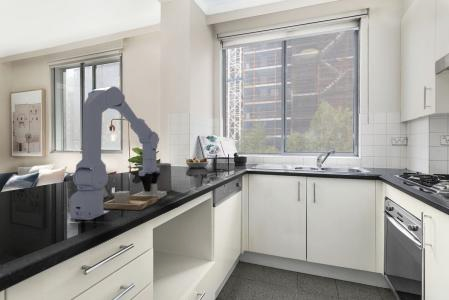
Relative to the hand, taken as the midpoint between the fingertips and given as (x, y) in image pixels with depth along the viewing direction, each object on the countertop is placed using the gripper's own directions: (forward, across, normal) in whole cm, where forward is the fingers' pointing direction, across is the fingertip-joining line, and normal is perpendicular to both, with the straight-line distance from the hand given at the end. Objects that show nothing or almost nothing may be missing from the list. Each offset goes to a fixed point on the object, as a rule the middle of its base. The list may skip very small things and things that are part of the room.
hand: (150, 190), depth 104 cm
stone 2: (+2, 0, 0) cm, 2 cm away
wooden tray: (+3, -12, +1) cm, 13 cm away
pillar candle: (+4, +16, +2) cm, 16 cm away
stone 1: (+3, -12, +5) cm, 14 cm away
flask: (+4, -2, +23) cm, 23 cm away
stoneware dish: (+3, 0, 0) cm, 3 cm away
